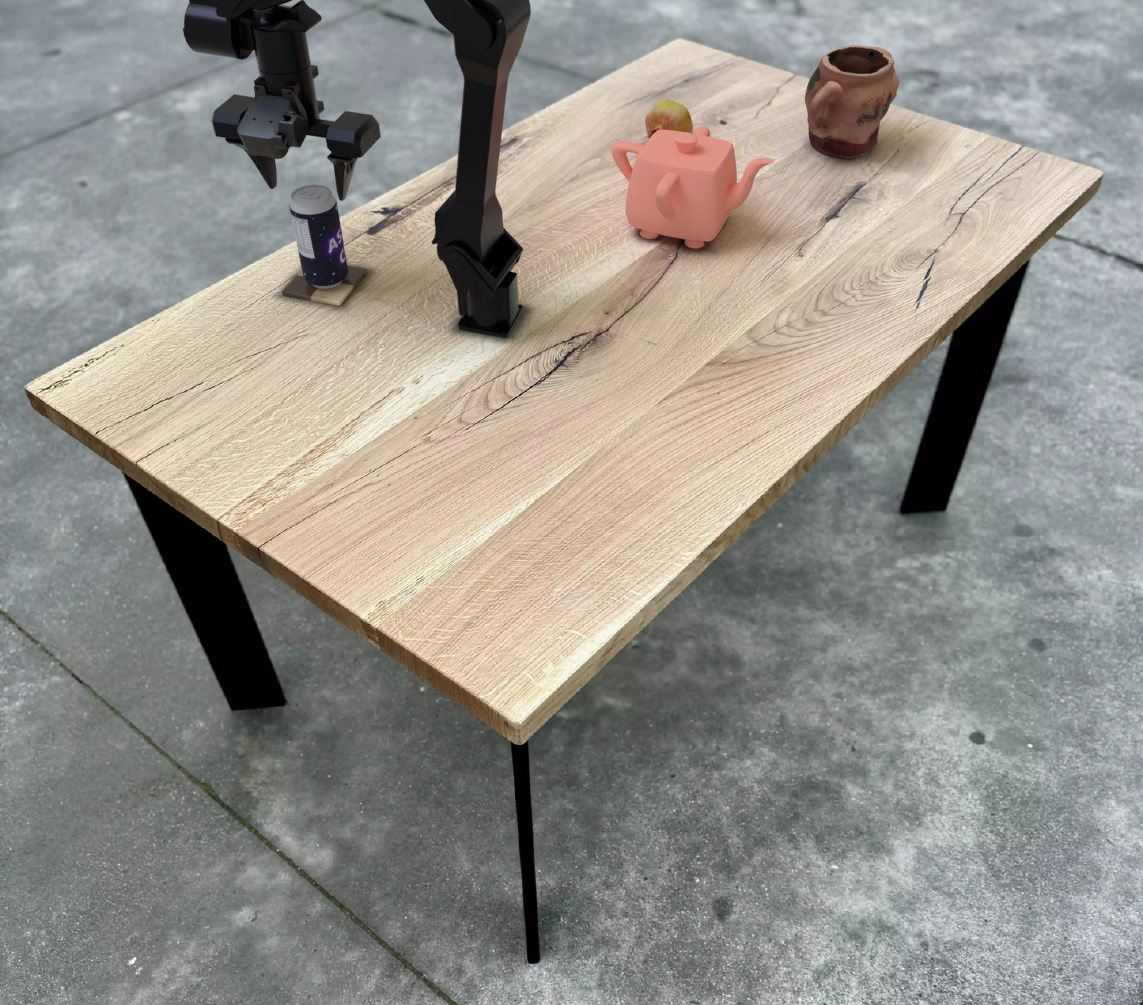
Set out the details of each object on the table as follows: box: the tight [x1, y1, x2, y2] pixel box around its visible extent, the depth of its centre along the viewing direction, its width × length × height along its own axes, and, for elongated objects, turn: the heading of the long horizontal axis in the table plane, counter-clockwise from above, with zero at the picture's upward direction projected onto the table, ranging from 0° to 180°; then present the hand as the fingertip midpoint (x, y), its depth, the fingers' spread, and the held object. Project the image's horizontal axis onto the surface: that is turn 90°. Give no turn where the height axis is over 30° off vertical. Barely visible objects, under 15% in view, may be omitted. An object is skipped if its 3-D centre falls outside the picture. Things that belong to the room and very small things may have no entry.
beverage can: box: [288, 183, 349, 289], centre depth 135 cm, size 6×6×12 cm
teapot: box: [611, 126, 776, 249], centre depth 145 cm, size 17×16×13 cm
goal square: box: [281, 264, 368, 307], centre depth 140 cm, size 8×8×1 cm
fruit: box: [644, 99, 694, 140], centre depth 164 cm, size 7×7×10 cm
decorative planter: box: [804, 44, 900, 159], centre depth 161 cm, size 20×12×14 cm, turn 143°
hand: (308, 193), depth 131 cm, fingers open, 9 cm apart
